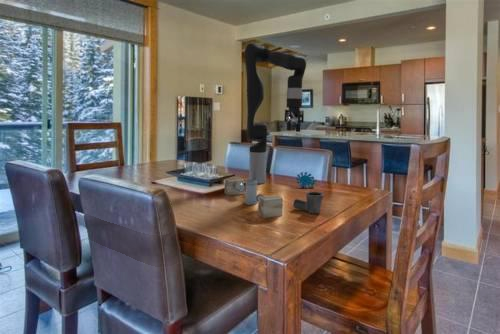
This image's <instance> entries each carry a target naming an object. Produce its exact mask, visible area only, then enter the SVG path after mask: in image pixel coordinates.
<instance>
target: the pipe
mask: <svg viewBox="0 0 500 334" xmlns="http://www.w3.org/2000/svg"><path fill="white" fill-rule="evenodd" d="M305 196H306V200H304V199H303V200H302V199H299V198H295V199H294V200H293V203H292V205H293V206H292V207H293V208H295V209H297V210H301V211H304V212H307V213H309V214H314V215H318V214H320V213H321V208H322V207H321V206H322V201H323V198H324V196H325V194H324V192H319V191H309V192H306V193H305Z"/></svg>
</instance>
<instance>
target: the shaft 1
mask: <svg viewBox="0 0 500 334" xmlns="http://www.w3.org/2000/svg"><path fill="white" fill-rule="evenodd" d="M233 188H234V189H235V190H237V191H239V192H244V193H245V192H246V185H245V184H244V185H242V184H240V183H238V182H234V183H233Z"/></svg>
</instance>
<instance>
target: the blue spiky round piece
mask: <svg viewBox="0 0 500 334" xmlns="http://www.w3.org/2000/svg"><path fill="white" fill-rule="evenodd" d="M295 180H296V184H297V185H299V187H300V188H302V187H303V188H304V189H307V188H308V189H310V188H311V187H313V186H314V185H315V184H316V183H317V182H318V180H317V179H315V177H314V176H313V175H312V174H311V173H309V174H308V172H307V171H305V172H304V173H303V172H300V174H297V175H296V179H295Z"/></svg>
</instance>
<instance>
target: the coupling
mask: <svg viewBox="0 0 500 334" xmlns="http://www.w3.org/2000/svg"><path fill="white" fill-rule="evenodd" d="M244 185H245V200H244V204H245V205H248V206H254V205H258V202H257V201H256V196H257V195H258V192H257V191H258V181H257V180H249V179H245V180H244Z"/></svg>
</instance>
